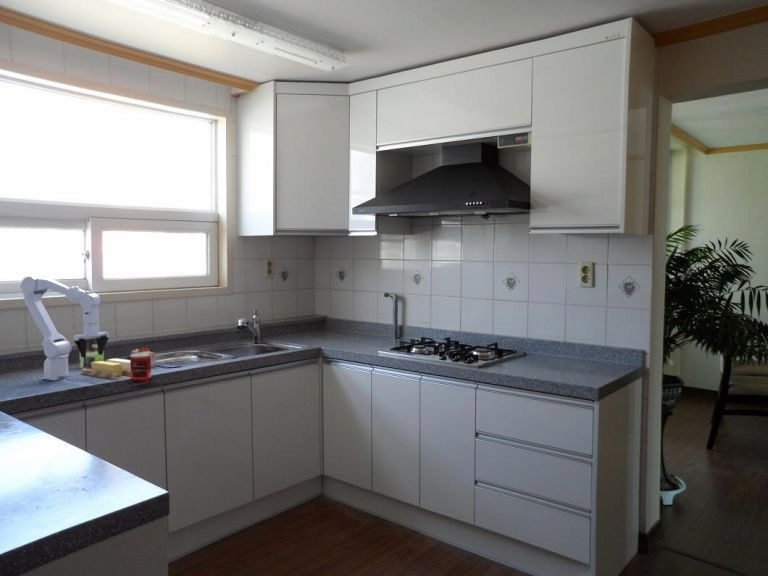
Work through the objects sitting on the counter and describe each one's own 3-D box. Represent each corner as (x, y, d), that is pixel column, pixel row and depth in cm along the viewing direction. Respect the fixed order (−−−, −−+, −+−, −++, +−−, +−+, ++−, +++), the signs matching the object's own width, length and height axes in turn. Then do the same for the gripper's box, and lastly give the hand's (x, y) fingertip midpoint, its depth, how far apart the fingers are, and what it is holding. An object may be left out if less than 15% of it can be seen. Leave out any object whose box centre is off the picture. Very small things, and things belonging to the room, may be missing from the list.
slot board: (81, 377, 252) (81, 369, 252) (114, 371, 266) (114, 363, 265) (114, 383, 241) (114, 374, 241) (147, 376, 254) (147, 368, 254)
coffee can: (109, 366, 279) (108, 335, 278) (91, 369, 269) (90, 338, 268) (92, 364, 282) (91, 334, 282) (74, 368, 273) (73, 337, 272)
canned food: (144, 378, 250) (144, 352, 250) (154, 381, 245) (154, 354, 245) (127, 381, 244) (126, 354, 244) (137, 384, 239) (136, 356, 239)
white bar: (107, 371, 258) (107, 359, 258) (115, 369, 262) (115, 358, 261) (128, 374, 251) (128, 362, 251) (136, 372, 255) (136, 361, 254)
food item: (158, 369, 270) (157, 348, 269) (140, 372, 264) (140, 350, 263) (145, 366, 279) (144, 345, 279) (127, 368, 273) (127, 346, 273)
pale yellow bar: (92, 374, 252) (91, 362, 252) (100, 372, 255) (100, 360, 255) (113, 377, 245) (112, 365, 245) (121, 375, 248) (121, 363, 248)
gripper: (80, 325, 238) (81, 359, 239) (113, 321, 251) (113, 354, 252) (69, 324, 242) (70, 357, 243) (102, 321, 255) (103, 352, 255)
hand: (92, 355), depth 247 cm, fingers open, 7 cm apart
